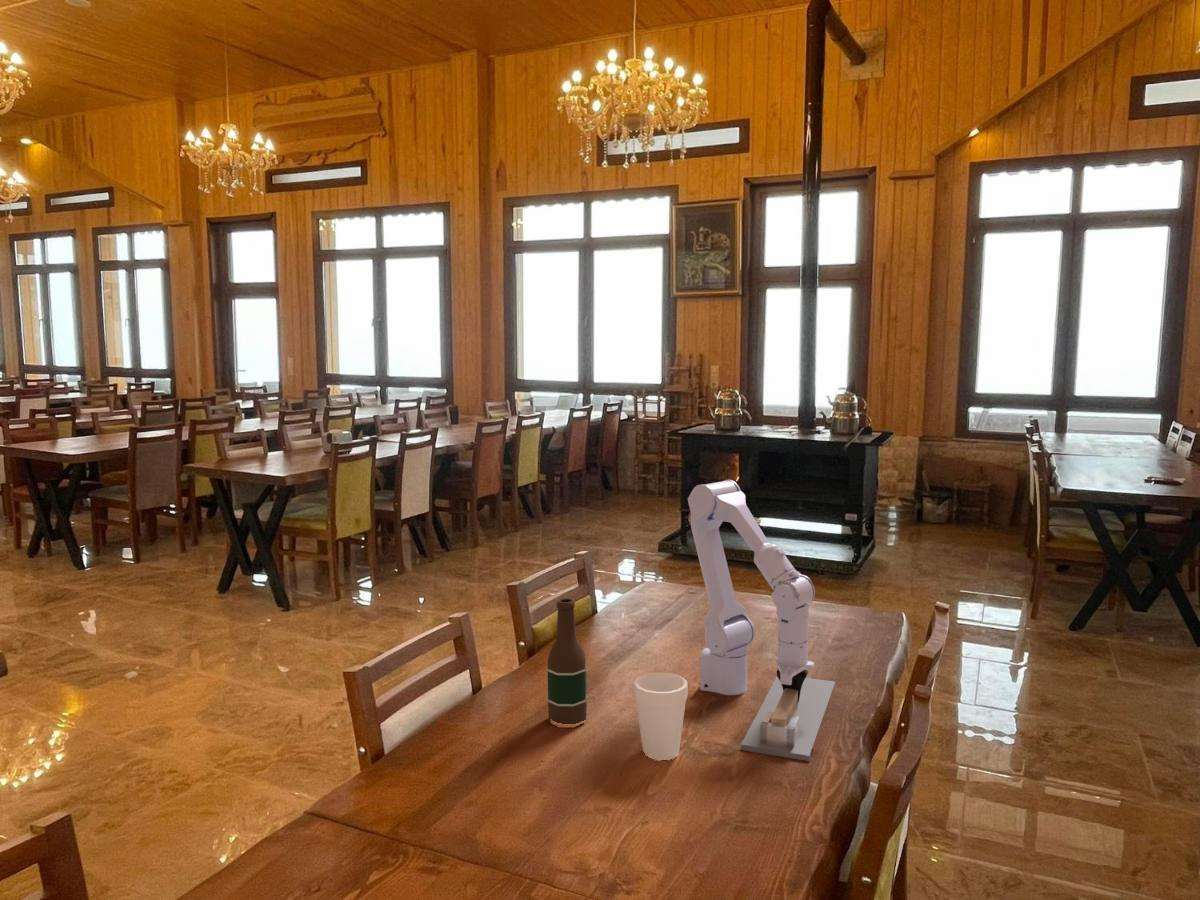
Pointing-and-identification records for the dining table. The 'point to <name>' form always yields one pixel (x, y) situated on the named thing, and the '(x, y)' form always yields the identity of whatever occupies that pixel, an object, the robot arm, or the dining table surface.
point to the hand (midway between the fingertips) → (791, 706)
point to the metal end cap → (779, 732)
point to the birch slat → (786, 707)
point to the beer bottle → (566, 670)
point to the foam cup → (660, 713)
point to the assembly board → (809, 714)
